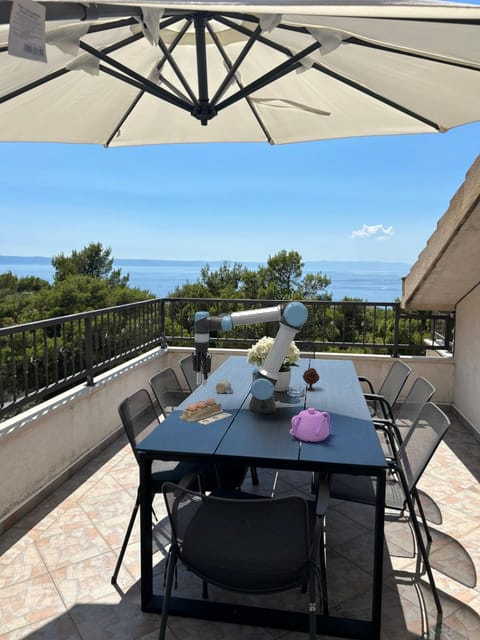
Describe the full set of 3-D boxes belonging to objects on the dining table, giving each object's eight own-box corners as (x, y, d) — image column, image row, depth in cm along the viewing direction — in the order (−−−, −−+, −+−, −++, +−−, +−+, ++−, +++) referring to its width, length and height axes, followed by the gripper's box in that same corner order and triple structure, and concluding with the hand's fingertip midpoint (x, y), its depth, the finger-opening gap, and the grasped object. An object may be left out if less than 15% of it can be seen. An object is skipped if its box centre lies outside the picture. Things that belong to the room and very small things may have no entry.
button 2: (216, 405, 251) (216, 399, 251) (210, 407, 248) (210, 401, 248) (210, 404, 254) (210, 397, 254) (204, 405, 251) (204, 399, 251)
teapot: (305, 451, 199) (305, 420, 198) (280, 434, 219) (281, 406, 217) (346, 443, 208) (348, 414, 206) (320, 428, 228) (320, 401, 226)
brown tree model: (321, 389, 302) (322, 367, 300) (314, 393, 292) (315, 370, 291) (306, 387, 307) (307, 365, 306) (299, 390, 298) (300, 368, 296)
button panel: (223, 412, 252) (223, 404, 251) (192, 422, 234) (192, 413, 234) (209, 408, 258) (209, 400, 258) (179, 418, 241) (179, 409, 240)
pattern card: (231, 415, 246) (231, 414, 246) (205, 424, 231) (205, 423, 231) (224, 413, 249) (224, 412, 249) (198, 422, 234) (198, 421, 234)
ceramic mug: (214, 393, 290) (215, 381, 289) (220, 390, 297) (220, 378, 296) (230, 395, 286) (230, 383, 285) (235, 392, 293) (235, 380, 293)
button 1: (198, 411, 241) (198, 405, 240) (192, 413, 237) (192, 407, 237) (192, 409, 244) (192, 403, 243) (185, 411, 240) (185, 405, 240)
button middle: (207, 408, 246) (207, 402, 246) (201, 410, 243) (201, 404, 242) (201, 406, 249) (201, 400, 249) (195, 408, 246) (195, 402, 245)
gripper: (218, 342, 239) (217, 386, 242) (196, 338, 250) (196, 381, 253) (208, 343, 234) (207, 388, 236) (185, 340, 244) (185, 383, 247)
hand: (201, 384), depth 244 cm, fingers open, 3 cm apart
